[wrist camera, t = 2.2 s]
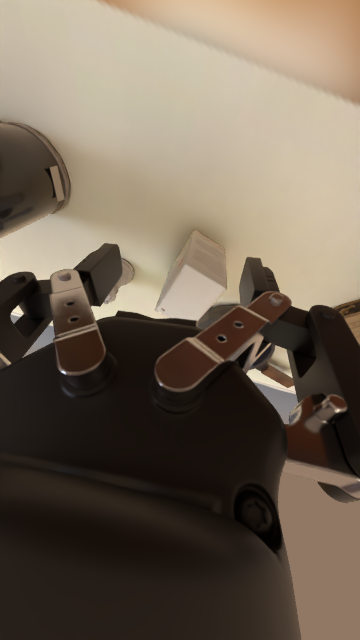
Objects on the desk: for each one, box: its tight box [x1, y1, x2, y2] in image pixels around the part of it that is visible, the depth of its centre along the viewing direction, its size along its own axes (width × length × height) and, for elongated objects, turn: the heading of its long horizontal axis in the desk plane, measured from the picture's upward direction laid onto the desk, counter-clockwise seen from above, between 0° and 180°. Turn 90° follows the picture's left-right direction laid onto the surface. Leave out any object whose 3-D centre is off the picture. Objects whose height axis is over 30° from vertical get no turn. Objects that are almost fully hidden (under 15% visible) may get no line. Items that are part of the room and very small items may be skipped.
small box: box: [155, 230, 227, 322], centre depth 28 cm, size 8×6×10 cm
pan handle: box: [256, 361, 294, 388], centre depth 43 cm, size 10×2×2 cm, turn 57°
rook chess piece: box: [104, 259, 134, 304], centre depth 32 cm, size 4×4×8 cm
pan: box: [196, 305, 275, 370], centre depth 40 cm, size 16×16×4 cm
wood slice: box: [334, 300, 360, 345], centre depth 36 cm, size 16×16×3 cm
